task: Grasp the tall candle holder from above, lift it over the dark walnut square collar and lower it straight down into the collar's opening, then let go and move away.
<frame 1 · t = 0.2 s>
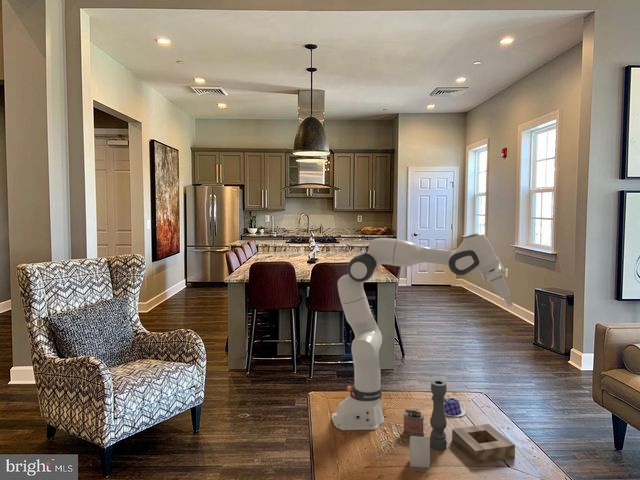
hand: (509, 302, 171), 54 cm above the table, tool tilted 30°, fingers open, 8 cm apart
pudding: (451, 412, 198), on the table
lighter: (413, 434, 178), on the table
tea bag: (419, 464, 157), on the table
walnut collar: (482, 449, 166), on the table
candle holder: (438, 446, 169), on the table
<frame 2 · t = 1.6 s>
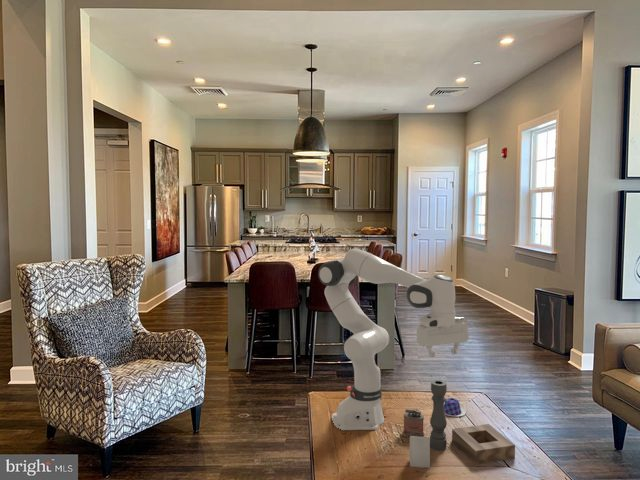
hand: (442, 355, 166), 36 cm above the table, tool pointing down, fingers open, 8 cm apart
nothing on the table moved.
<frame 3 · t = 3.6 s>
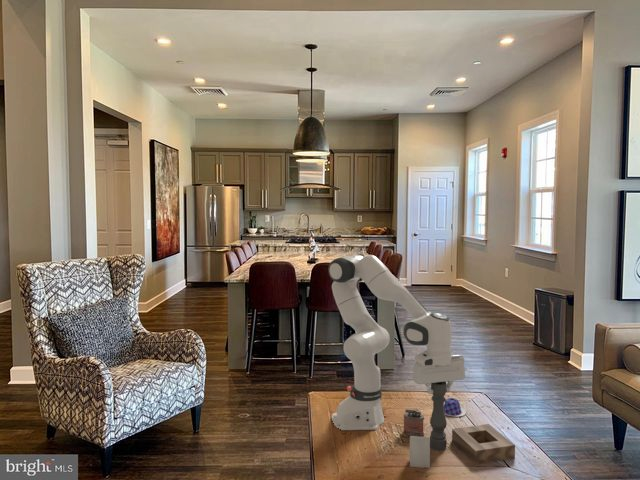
hand: (438, 392, 167), 21 cm above the table, tool pointing down, fingers closed on candle holder, 5 cm apart
candle holder: (438, 446, 169), on the table, touching gripper
everything else where it was.
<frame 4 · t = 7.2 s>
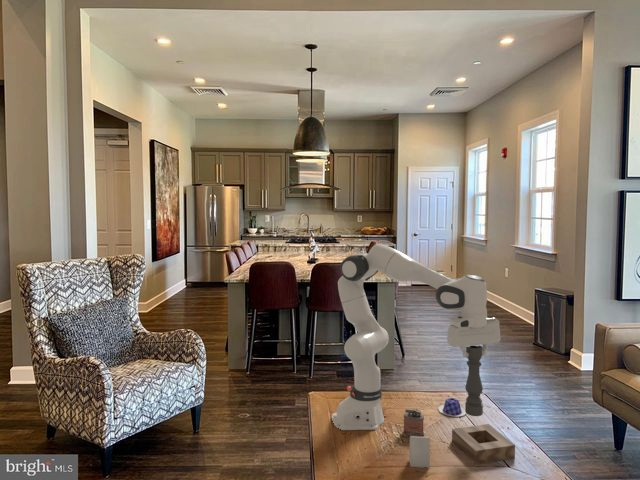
hand: (474, 356, 164), 36 cm above the table, tool pointing down, fingers closed on candle holder, 5 cm apart
candle holder: (474, 412, 165), point 14 cm above the table, touching gripper
everything else where it was.
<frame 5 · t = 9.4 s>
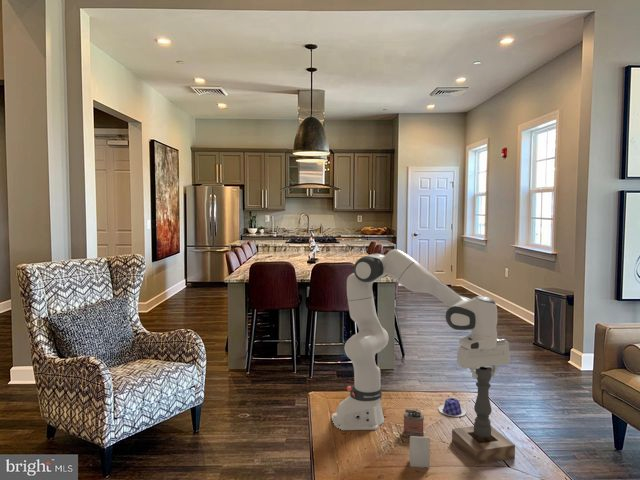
hand: (483, 377, 164), 28 cm above the table, tool pointing down, fingers closed on candle holder, 5 cm apart
candle holder: (482, 433, 166), point 6 cm above the table, touching gripper
everything else where it was.
when the fingers open (22 cm above the table, at t = 11.2 s): candle holder stays where it is, resting in walnut collar.
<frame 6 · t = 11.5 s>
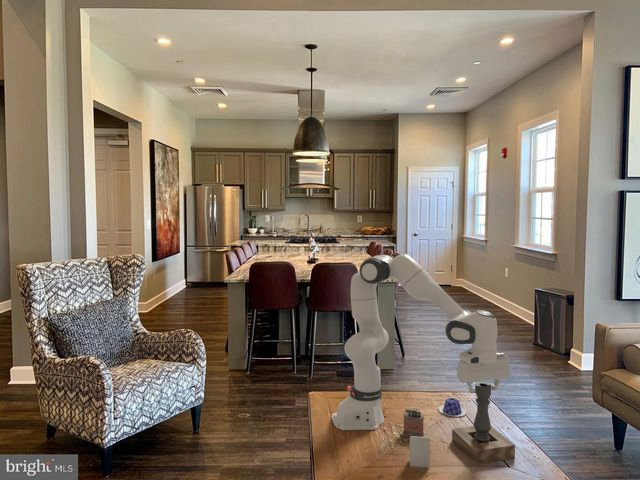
hand: (483, 391, 165), 23 cm above the table, tool pointing down, fingers open, 8 cm apart
candle holder: (481, 449, 166), resting in walnut collar
everything else where it was.
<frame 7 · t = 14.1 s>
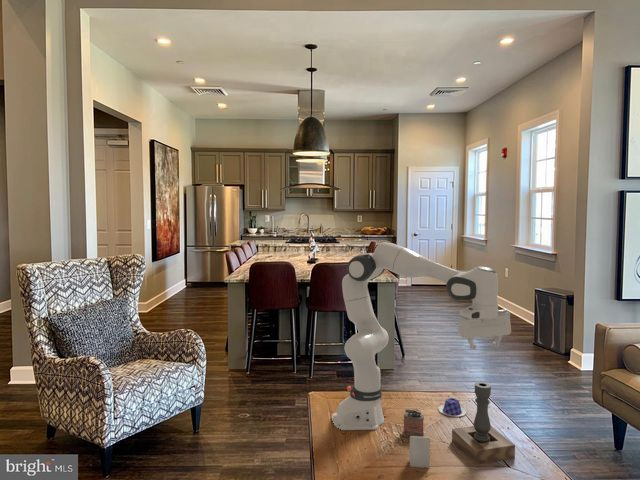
hand: (484, 347, 163), 39 cm above the table, tool pointing down, fingers open, 8 cm apart
nothing on the table moved.
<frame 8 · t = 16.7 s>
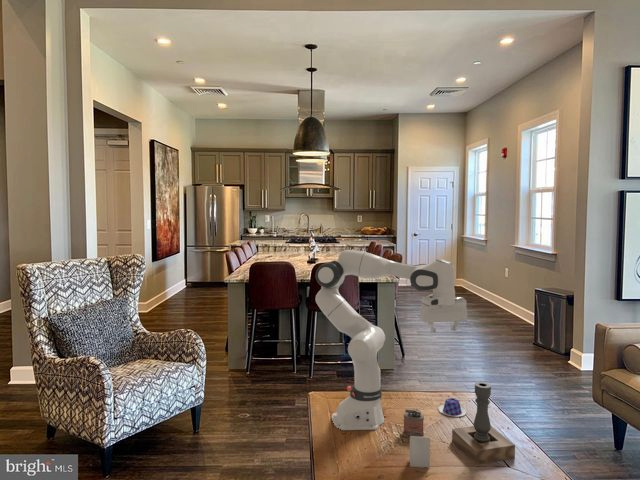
hand: (443, 331, 185), 39 cm above the table, tool pointing down, fingers open, 8 cm apart
nothing on the table moved.
at the end: candle holder 0.2 cm off-centre on the walnut collar, point 0.0 cm above the walnut collar's base; candle holder tilted 0°; the gripper is holding nothing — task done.
